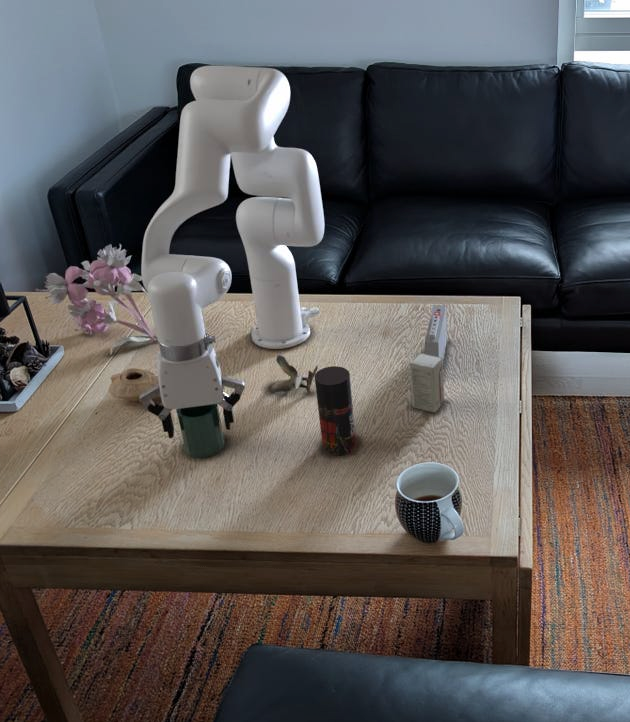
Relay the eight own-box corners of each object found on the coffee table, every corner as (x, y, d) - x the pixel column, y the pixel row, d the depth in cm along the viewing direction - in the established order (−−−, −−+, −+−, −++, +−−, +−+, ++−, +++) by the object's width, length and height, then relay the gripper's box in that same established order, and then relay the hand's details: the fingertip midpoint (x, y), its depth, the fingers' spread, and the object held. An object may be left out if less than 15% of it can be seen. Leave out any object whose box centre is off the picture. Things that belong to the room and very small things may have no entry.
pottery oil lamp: (166, 411, 157) (140, 388, 153) (122, 416, 163) (96, 394, 158) (185, 375, 163) (161, 352, 158) (143, 380, 168) (118, 359, 164)
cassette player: (434, 341, 181) (433, 300, 176) (446, 341, 181) (446, 301, 176) (425, 380, 168) (424, 337, 163) (439, 380, 168) (438, 338, 163)
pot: (210, 430, 153) (202, 391, 149) (232, 445, 149) (225, 406, 145) (177, 447, 149) (168, 408, 144) (199, 462, 145) (190, 423, 141)
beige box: (445, 401, 162) (444, 357, 156) (434, 413, 158) (433, 368, 153) (421, 395, 163) (420, 351, 158) (410, 407, 160) (409, 362, 155)
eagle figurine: (321, 373, 168) (279, 361, 168) (316, 359, 161) (272, 346, 162) (307, 407, 165) (264, 395, 165) (301, 394, 158) (257, 381, 159)
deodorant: (324, 436, 152) (315, 366, 144) (356, 434, 152) (350, 365, 144) (321, 456, 147) (313, 385, 139) (355, 454, 147) (348, 384, 139)
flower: (171, 297, 195) (98, 213, 180) (195, 329, 177) (116, 238, 163) (99, 350, 191) (18, 269, 176) (116, 388, 173) (28, 301, 158)
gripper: (236, 329, 143) (249, 411, 152) (130, 341, 139) (150, 425, 148) (237, 350, 137) (251, 434, 146) (126, 363, 133) (147, 449, 142)
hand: (200, 429), depth 147 cm, fingers open, 9 cm apart
